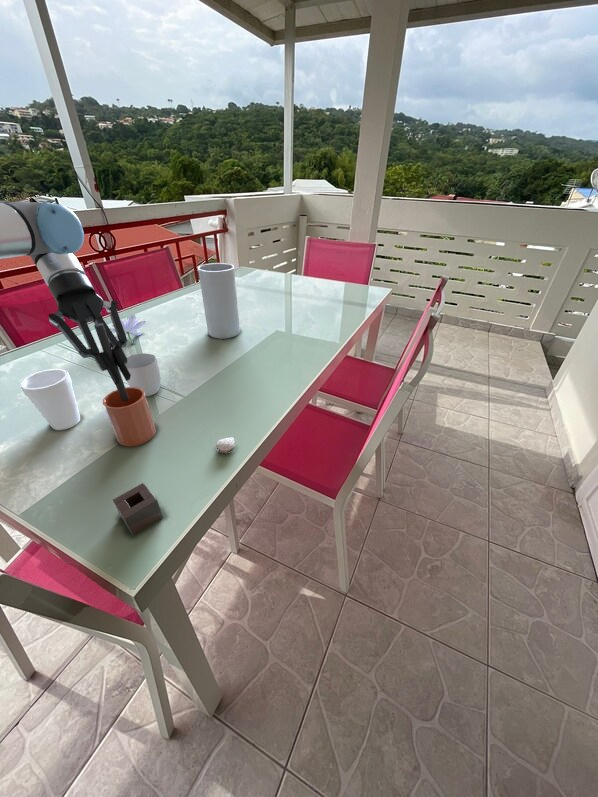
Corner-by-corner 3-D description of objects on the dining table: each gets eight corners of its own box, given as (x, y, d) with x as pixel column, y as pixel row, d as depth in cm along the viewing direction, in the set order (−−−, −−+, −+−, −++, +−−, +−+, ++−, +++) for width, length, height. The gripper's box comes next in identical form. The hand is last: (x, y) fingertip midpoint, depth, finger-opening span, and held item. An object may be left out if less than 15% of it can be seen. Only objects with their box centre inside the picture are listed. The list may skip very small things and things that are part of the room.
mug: (158, 399, 93) (150, 368, 87) (126, 399, 92) (115, 368, 87) (171, 376, 103) (164, 347, 98) (141, 376, 103) (133, 347, 97)
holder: (120, 516, 61) (112, 499, 58) (149, 499, 65) (143, 482, 62) (133, 536, 58) (125, 519, 55) (163, 517, 61) (157, 499, 59)
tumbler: (109, 440, 78) (93, 403, 72) (136, 420, 85) (123, 384, 79) (138, 450, 76) (124, 412, 70) (163, 428, 82) (152, 391, 76)
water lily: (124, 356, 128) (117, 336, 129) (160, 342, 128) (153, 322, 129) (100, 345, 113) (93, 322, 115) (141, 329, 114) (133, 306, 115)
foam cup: (94, 419, 85) (76, 375, 78) (57, 439, 79) (32, 394, 71) (74, 407, 89) (55, 365, 82) (37, 425, 83) (12, 381, 75)
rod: (119, 401, 74) (92, 325, 64) (125, 397, 76) (98, 322, 65) (125, 402, 74) (98, 326, 64) (130, 398, 75) (105, 323, 65)
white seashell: (213, 452, 76) (211, 444, 74) (225, 439, 79) (224, 431, 78) (229, 457, 74) (228, 449, 73) (241, 444, 78) (240, 436, 77)
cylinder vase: (214, 342, 124) (203, 273, 110) (204, 330, 133) (193, 265, 119) (245, 335, 129) (239, 268, 115) (233, 324, 138) (226, 261, 124)
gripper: (104, 284, 76) (154, 374, 76) (29, 298, 67) (85, 399, 67) (105, 264, 70) (159, 361, 70) (22, 277, 61) (84, 387, 61)
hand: (122, 379), depth 68 cm, fingers closed on rod, 1 cm apart
